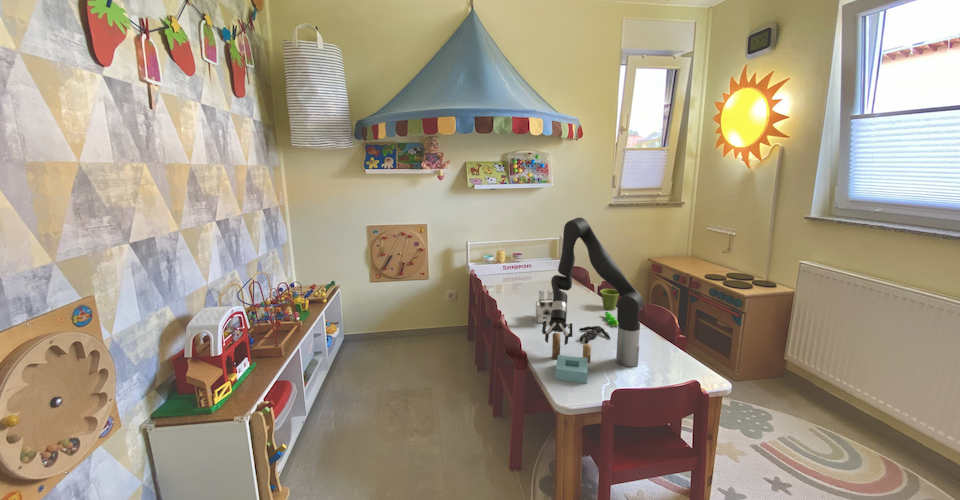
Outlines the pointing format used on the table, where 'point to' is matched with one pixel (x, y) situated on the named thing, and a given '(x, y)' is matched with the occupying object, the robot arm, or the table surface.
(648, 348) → the table surface
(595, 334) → the dark grey sprawling piece
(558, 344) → the long pin
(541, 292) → the toy llama
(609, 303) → the plant pot
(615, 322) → the green lumpy elongated piece
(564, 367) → the hole block
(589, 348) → the short pin
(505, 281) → the table surface
